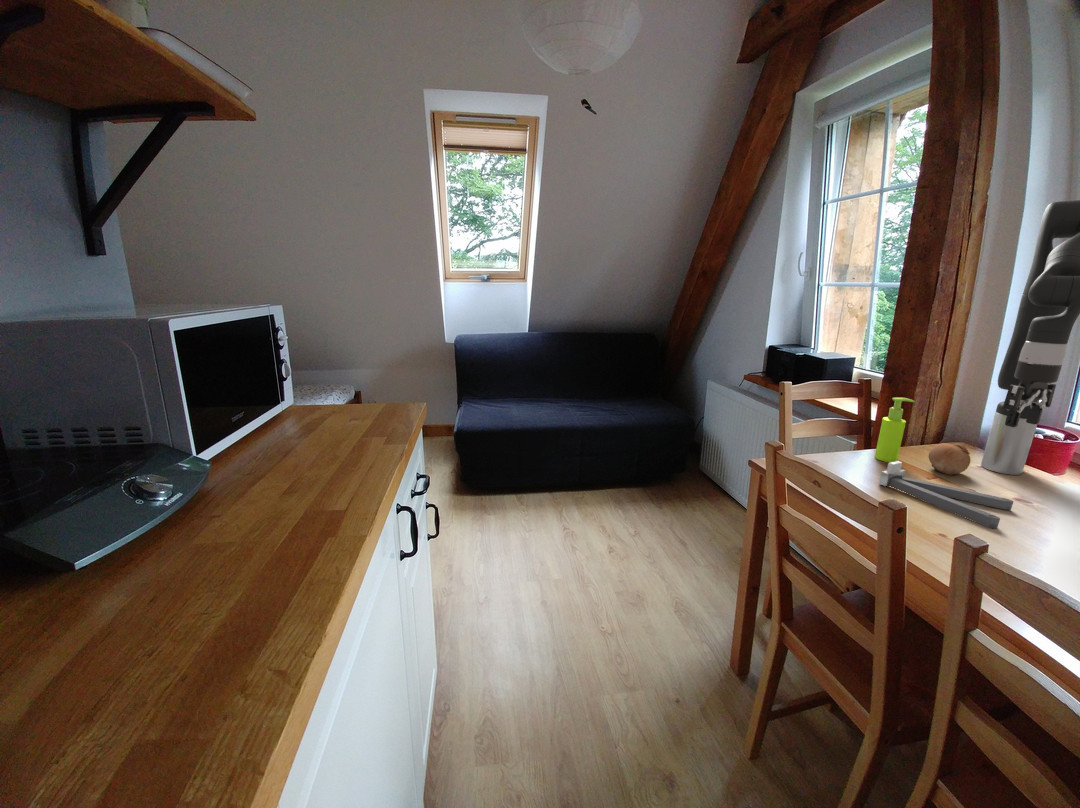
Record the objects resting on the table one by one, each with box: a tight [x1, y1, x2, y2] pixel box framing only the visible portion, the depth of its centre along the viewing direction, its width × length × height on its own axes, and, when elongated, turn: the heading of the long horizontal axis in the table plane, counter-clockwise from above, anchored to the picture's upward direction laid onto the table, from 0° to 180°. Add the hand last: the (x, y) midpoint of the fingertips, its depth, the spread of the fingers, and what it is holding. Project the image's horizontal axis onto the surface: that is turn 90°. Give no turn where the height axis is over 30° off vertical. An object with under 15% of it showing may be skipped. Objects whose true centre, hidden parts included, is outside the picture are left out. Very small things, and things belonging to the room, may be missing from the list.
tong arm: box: [902, 476, 1014, 511], centre depth 127 cm, size 22×2×2 cm, turn 52°
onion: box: [928, 442, 971, 476], centre depth 142 cm, size 10×9×10 cm
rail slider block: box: [878, 460, 906, 487], centre depth 134 cm, size 2×7×6 cm, turn 112°
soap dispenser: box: [874, 397, 916, 463], centre depth 150 cm, size 6×7×20 cm
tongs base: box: [887, 476, 1001, 530], centre depth 124 cm, size 26×5×2 cm, turn 22°
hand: (1021, 425), depth 120 cm, fingers open, 8 cm apart
